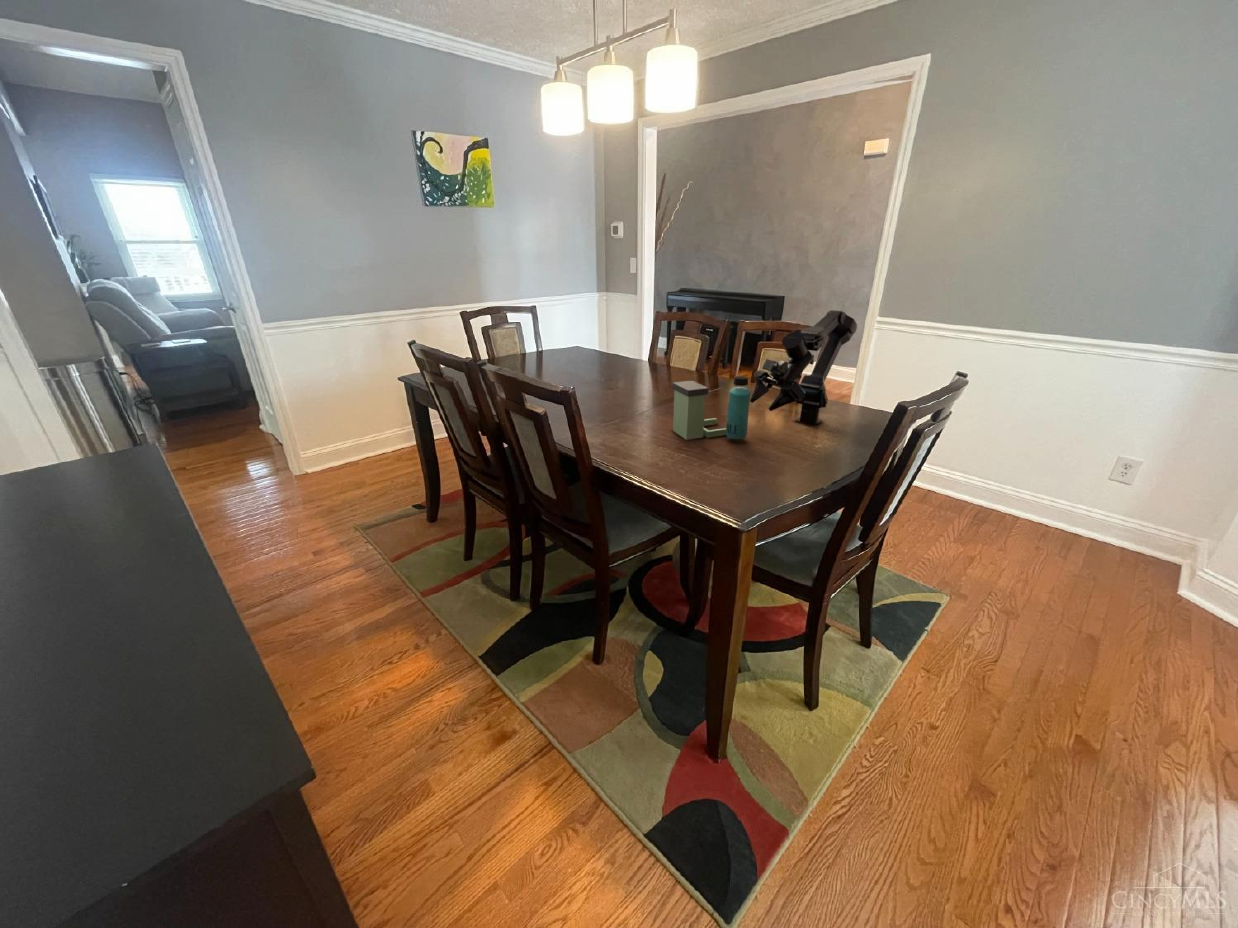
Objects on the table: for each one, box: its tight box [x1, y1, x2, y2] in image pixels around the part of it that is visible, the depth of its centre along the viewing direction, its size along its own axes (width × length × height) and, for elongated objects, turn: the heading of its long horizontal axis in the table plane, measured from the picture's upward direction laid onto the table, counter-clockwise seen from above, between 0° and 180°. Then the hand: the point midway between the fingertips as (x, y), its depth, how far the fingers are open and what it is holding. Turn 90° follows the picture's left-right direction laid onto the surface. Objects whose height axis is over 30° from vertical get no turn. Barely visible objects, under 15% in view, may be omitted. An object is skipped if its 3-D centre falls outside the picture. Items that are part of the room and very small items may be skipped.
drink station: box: [672, 380, 727, 441], centre depth 156 cm, size 17×11×16 cm, turn 112°
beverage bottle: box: [725, 375, 752, 440], centre depth 147 cm, size 6×7×20 cm
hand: (760, 405), depth 150 cm, fingers open, 9 cm apart
